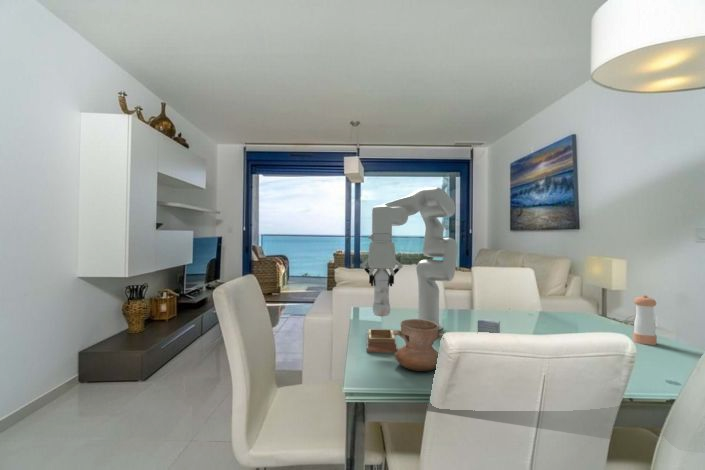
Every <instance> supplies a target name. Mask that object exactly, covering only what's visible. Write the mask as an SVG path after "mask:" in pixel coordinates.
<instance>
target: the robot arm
mask: <svg viewBox="0 0 705 470" xmlns="http://www.w3.org/2000/svg"><path fill="white" fill-rule="evenodd" d="M371 210H372V213H371V223H372V224H371V234H370V235H368V237H367V239H368V240H371V241H370V242H369V246H368V258H366V259H365V261H363V263H361V264H360V267H361V268H362V269H363V270H364V271H365V272H366V274H368V276H369V279H368V280H369V281H368V282H369V283H368V284H370V285H371V286H370V287H374V282H373V275H374V271H375V269H376V270H377V269H386V270H389V272H390V273H389V275H390V284H389V287H393V285H394V284H395V276H396V274H397V273H398V272H399V271H400V270H401V269H402V268H403V267H404V266H403V264H402V263H401V262H400V261H399V260H397V258H396V247H395V242H393V227H399V226H403V225H405V224H406V223H407V222H408V220H409V217H411V216H414V215H416V214H417V213H420V215H421V216H420V217H421V218H422V220H423V222H424V225H425V226H424V227H425V232H424V238H423V245H422V252H423V255H424V256H425V257H429V259H427V258H426V259H422V260H419V261H418V263H417V264H416V268H415V269H416V277H417V283H418V284H417V285H418V286H417V287H418V292H417V293H418V302H417V303H418V304H417V305H418V311H417V313H418V314H417V319H424V320H429V321H433V322H435V323H437V324H438V325H439V328H438V331H440V330H442V329H443V324H441V323H440V288H439V285H438V284H437V282H451V281H452V280H453V279H454V277H455V273H456V266H457V258H458V244H457V241H456V240H455V238H452V237H444V230H445V229H444V225H443V224H442V222H441V221H440V220H439V218H451V217H453V216H454V215H455V213H456V204H455V202H454V200H453V198H451V196H450V195H449V194H448V193H447V192H446V191H445V190H444V189H443V188H441V187H439V186H438V187H423V188H419V189H417V190H414V191H413V192H412V193H410V194H408V195H406V196H403V197H400V198H398V199H394V200H392V201H391V200H390V201H388V202H386V203H383V204H381V205H376V206H373V208H372V209H371ZM430 258H437V259H430ZM438 258H440V259H441V258H442V259H443V260H442V259H441V260H440V259H438ZM367 264H368V267H369V268H370V269H369V268H368V267H367V266H366V265H367ZM396 265H397V267H396ZM436 281H437V282H436Z"/></svg>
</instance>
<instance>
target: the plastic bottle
mask: <svg viewBox="0 0 705 470" xmlns="http://www.w3.org/2000/svg"><path fill="white" fill-rule="evenodd" d="M373 291H374V293H373V294H374V295H373V296H374V297H373V303H372V313H373V315H374V316H376V317H382V318H383V317H387V316H389V315H390V313H391V305H390V297H389V296H390V295H389V294H390V292H389V291H390V273H389V271H388V269H376V271H375V272H373Z"/></svg>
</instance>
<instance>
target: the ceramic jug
mask: <svg viewBox="0 0 705 470" xmlns="http://www.w3.org/2000/svg"><path fill="white" fill-rule="evenodd" d="M438 328H439V325H438V324H437V323H435V322H433V321H429V320H424V319H418V318H407V319H403V320H401V321H400V330H397V329H396V330H394V331H393V330H392V331H393V334H394V336H399V337H401V338H402V339H403V340H404V342H405V345H402V347H400V348H399V349H398V351H397V352H396V353H394V358H395V360H396V361H397V363H398V364H399V365H400V366H402V367H404V368H405V369H407V370H410V371H415V372H428V371H433V370H435V369H437V368H436V364H437V358H438V353H439V351H438V350H436V349H435V348H434V346H433V344H434V342H435V341H437V340H438V339H443V338H442V336H443V334H444V333H438V332H439V330H438Z"/></svg>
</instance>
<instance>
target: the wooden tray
mask: <svg viewBox="0 0 705 470" xmlns="http://www.w3.org/2000/svg"><path fill="white" fill-rule="evenodd" d="M365 338H366V339H365V340H366V343H365V344H366V345H365V346H366V353H387V354H388V353H392V354H393V353H394V354H395V353H396V352H397V351H398V350H399V349H398V345H397V342H396V340H395V344H386V343H369V329H365Z"/></svg>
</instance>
